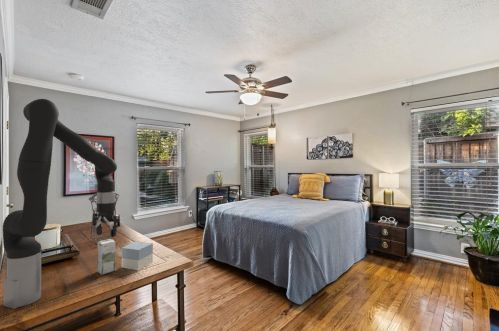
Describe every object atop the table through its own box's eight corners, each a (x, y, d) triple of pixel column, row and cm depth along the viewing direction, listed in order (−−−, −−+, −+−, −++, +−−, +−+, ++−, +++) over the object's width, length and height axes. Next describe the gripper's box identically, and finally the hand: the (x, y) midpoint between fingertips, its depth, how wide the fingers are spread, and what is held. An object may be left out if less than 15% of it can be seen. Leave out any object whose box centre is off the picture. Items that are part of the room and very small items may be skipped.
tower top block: (138, 260, 114) (138, 250, 114) (121, 258, 117) (121, 247, 117) (152, 252, 124) (152, 243, 123) (136, 250, 126) (136, 241, 126)
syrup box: (110, 267, 117) (110, 238, 116) (115, 271, 113) (115, 240, 113) (97, 271, 112) (97, 240, 112) (101, 275, 108) (101, 243, 108)
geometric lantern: (119, 237, 165) (120, 186, 164) (115, 245, 150) (116, 189, 149) (92, 239, 159) (93, 187, 158) (85, 247, 144) (86, 190, 143)
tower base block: (138, 270, 114) (138, 260, 114) (121, 267, 117) (121, 257, 117) (152, 262, 123) (152, 253, 123) (137, 260, 127) (137, 250, 127)
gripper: (87, 201, 111) (87, 236, 111) (110, 203, 106) (111, 239, 107) (101, 199, 118) (102, 232, 118) (124, 201, 114) (124, 234, 114)
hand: (106, 235), depth 113 cm, fingers open, 8 cm apart
